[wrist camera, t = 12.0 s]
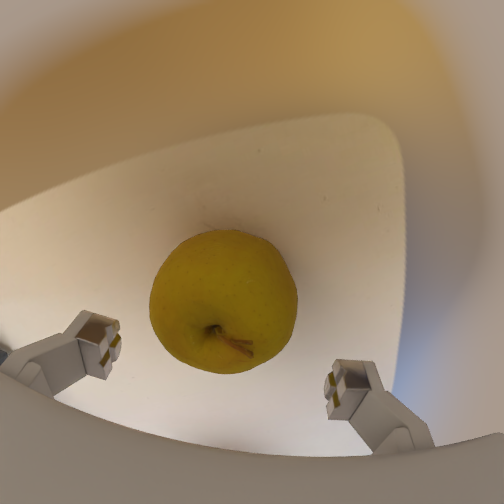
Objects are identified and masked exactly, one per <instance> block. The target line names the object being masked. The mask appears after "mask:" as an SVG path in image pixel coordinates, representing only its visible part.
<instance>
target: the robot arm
mask: <svg viewBox="0 0 504 504" xmlns="http://www.w3.org/2000/svg"><path fill="white" fill-rule="evenodd" d="M119 330H120V324H119V321H118V320H116V319H113V318H109V317H106V316H103V315H99V314H96V313H92V312H89V311H86V310H83V311H81V312H80V313H79V315H78V316H77V317H76V318H75V319H74V321H73V322H72V323H71V324H70V325H69V327H68V328H67V329H66V330H65V332H64V333H63V334H61V333H58V334H56V335H53V336H50V337H48V338H45V339H43V340H40V341H37V342H35V343H32V344H30V345H27V346H25V347H22V348H19V349H17V350H14V351H12V352H11V354H10V355H9V356H8V357H7V359H6V360H5V361H4V362H3V363H2V365H1V366H0V504H504V434H503V433H493V434H490V435H486V436H482V437H479V438H475V439H472V440H467V441H463V442H459V443H454V444H449V445H444V446H439V447H435V445H434V443H433V440H432V437H431V434H430V431H429V429H428V426H427V424H426V423H424V422H423V421H422V420H421V419H420V418H419V417H418V416H416V415H415V414H414V413H413V412H412V411H410V410H409V409H408V408H407V407H406V406H405V405H404V404H402V403H401V402H400V401H399V400H398V399H397V398H395V397H394V396H393V395H392V394H391V393H390V392H388V391H384V388H383V385H382V382H381V379H380V377H379V374H378V371H377V369H376V366H375V363H374V362H373V361H358V360H344V359H336V360H335V361H334V363H333V365H332V369H333V371H332V372H331V373H329V374H328V376H327V378H326V380H325V385H324V395H325V398H326V399H327V400H328V401H329V402H328V404H327V405H326V408H327V414H328V419H329V420H349V423H350V424H351V425H352V426H353V428H354V429H355V430H356V431H357V433H358V434H359V435H360V436H361V438H362V439H363V440H364V441H365V443H366V444H367V445H368V446H369V448H370V449H371V450H372V451H373V453H372V455H367V456H346V457H305V456H283V455H270V454H259V453H249V452H241V451H233V450H226V449H220V448H214V447H208V446H203V445H197V444H192V443H187V442H183V441H178V440H174V439H170V438H165V437H161V436H158V435H154V434H150V433H146V432H143V431H139V430H136V429H132V428H129V427H126V426H123V425H119V424H116V423H113V422H110V421H107V420H105V419H102V418H99V417H96V416H93V415H91V414H88V413H85V412H83V411H80V410H78V409H75V408H73V407H70V406H68V405H66V404H63V403H61V402H59V401H56V400H55V399H54V397H53V396H54V395H56V394H58V393H59V392H61V391H62V390H64V389H66V388H67V387H69V386H70V385H72V384H73V383H75V382H77V381H78V380H80V379H81V378H83V377H85V376H86V374H87V375H90V376H94V377H97V378H100V379H103V380H106V379H107V377H108V375H109V374H110V372H111V370H112V362H114V361H116V360H117V359H118V357H119V354H120V351H121V344H122V342H121V337H120V335H119V334H118V331H119Z"/></svg>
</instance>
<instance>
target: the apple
mask: <svg viewBox="0 0 504 504" xmlns="http://www.w3.org/2000/svg"><path fill="white" fill-rule="evenodd" d="M297 303H298V297H297V289H296V286H295V283H294V280H293V278H292V276H291V274H290V271H289V269H288V268H287V266H286V264H285V262H284V260H283V258H282V256H281V255H280V253H279V252H278V250H277V249H276V248H275V247H274V246H273V245H272V244H271V243H270V242H268V241H266V240H264V239H261V238H258V237H255V236H252V235H250V234H247V233H244V232H241V231H237V230H214V231H210V232H206V233H202V234H198V235H196V236H194V237H192V238H190V239H188V240H186V241H184V242H182V243H181V244H180V245H179V246H178V247H177V248H176V249H175V250H174V251H173V252H172V253H171V254H170V255H169V257H168V258H167V259H166V261H165V262H164V263H163V265H162V266H161V268H160V270H159V271H158V273H157V275H156V277H155V280H154V283H153V287H152V291H151V295H150V303H149V309H150V320H151V324H152V327H153V329H154V332H155V334H156V335H157V337H158V339H159V340H160V342H161V343H162V344H163V346H164V347H165V349H166V350H167V351H168V352H169V353H170V354H171V355H173V356H174V357H175V358H176V359H178V360H179V361H181V362H183V363H186V364H188V365H190V366H192V367H195V368H198V369H201V370H204V371H208V372H212V373H218V374H235V373H241V372H244V371H248V370H251V369H252V368H254V367H256V366H258V365H260V364H262V363H265V362H266V361H268V360H270V359H271V358H273V357H274V356H276V355H277V354H278V353H279V352H280V351H281V350H282V349H283V348H284V347H285V345H286V344H287V343H288V341H289V339H290V337H291V335H292V332H293V329H294V325H295V320H296V315H297Z"/></svg>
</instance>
